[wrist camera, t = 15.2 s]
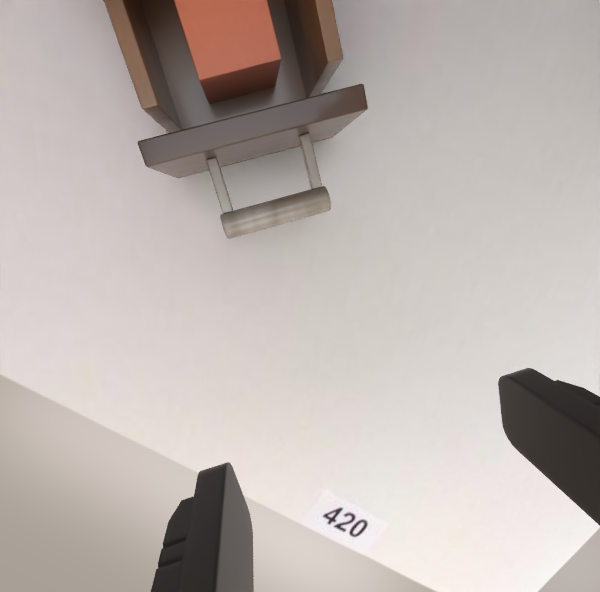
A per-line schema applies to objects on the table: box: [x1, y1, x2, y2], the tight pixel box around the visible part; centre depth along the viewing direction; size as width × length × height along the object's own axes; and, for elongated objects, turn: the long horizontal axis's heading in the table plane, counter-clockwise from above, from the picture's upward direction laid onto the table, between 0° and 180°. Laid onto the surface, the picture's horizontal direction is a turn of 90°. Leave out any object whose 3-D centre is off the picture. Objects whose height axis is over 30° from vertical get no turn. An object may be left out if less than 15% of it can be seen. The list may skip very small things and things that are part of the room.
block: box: [174, 0, 282, 104], centre depth 20 cm, size 4×4×4 cm
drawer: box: [104, 0, 368, 239], centre depth 20 cm, size 18×11×8 cm, turn 15°
